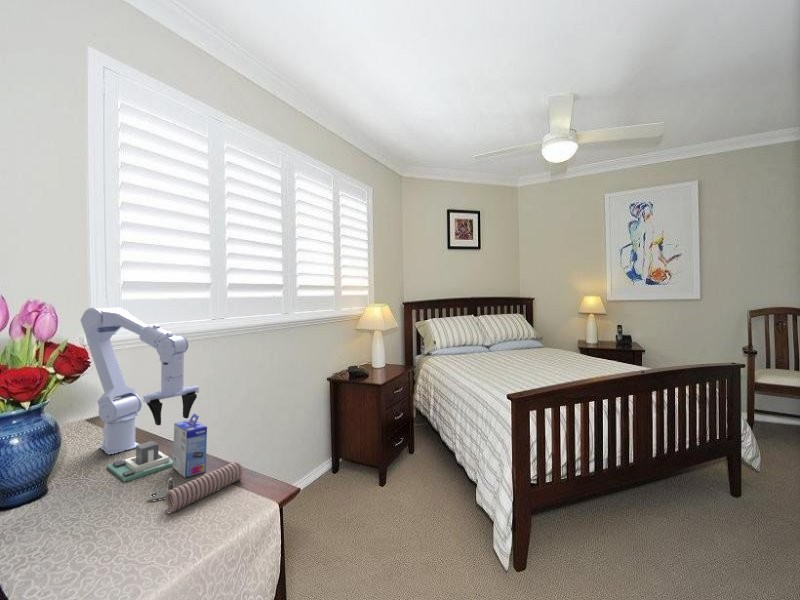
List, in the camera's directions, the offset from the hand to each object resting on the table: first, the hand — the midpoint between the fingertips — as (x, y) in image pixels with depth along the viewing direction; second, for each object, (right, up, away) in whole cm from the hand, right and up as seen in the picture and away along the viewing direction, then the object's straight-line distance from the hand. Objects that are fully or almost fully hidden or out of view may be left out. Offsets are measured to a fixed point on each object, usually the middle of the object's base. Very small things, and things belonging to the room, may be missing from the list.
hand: (172, 421), depth 108 cm
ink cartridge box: (+12, -10, -11) cm, 19 cm away
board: (-2, -9, -9) cm, 13 cm away
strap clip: (+15, -10, -24) cm, 30 cm away
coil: (+23, -10, -23) cm, 34 cm away
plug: (-1, -9, -9) cm, 12 cm away
